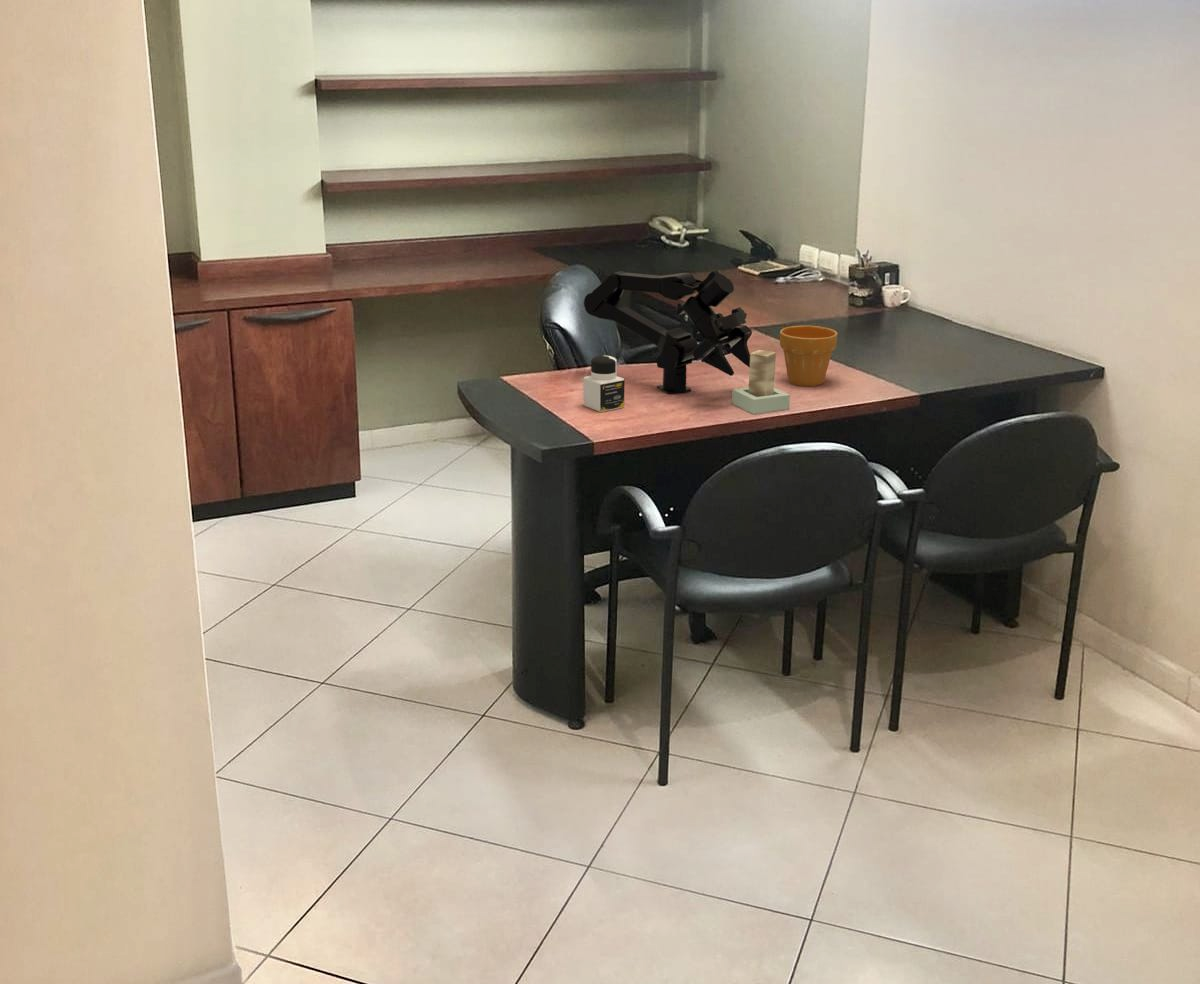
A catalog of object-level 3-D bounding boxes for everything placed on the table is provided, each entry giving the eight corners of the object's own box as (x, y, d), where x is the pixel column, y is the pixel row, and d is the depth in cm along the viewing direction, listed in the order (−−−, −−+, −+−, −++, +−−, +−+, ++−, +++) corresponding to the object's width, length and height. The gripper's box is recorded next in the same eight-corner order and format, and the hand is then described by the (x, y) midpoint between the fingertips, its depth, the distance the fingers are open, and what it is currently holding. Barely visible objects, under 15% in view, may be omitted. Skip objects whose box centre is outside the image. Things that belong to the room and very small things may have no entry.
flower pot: (791, 391, 303) (794, 339, 299) (768, 376, 316) (771, 327, 312) (843, 387, 307) (847, 336, 302) (819, 372, 320) (822, 323, 315)
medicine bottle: (600, 412, 286) (600, 362, 282) (582, 405, 291) (582, 356, 287) (624, 407, 290) (625, 358, 286) (607, 400, 295) (607, 352, 291)
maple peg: (747, 407, 290) (750, 353, 286) (756, 402, 294) (759, 349, 289) (764, 410, 288) (767, 356, 284) (773, 405, 291) (775, 352, 287)
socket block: (731, 403, 293) (732, 389, 292) (767, 398, 297) (767, 384, 296) (753, 414, 285) (754, 399, 284) (789, 409, 289) (789, 394, 288)
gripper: (705, 304, 281) (745, 359, 279) (745, 291, 295) (783, 343, 293) (675, 333, 288) (714, 386, 286) (715, 319, 302) (752, 369, 300)
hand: (742, 370), depth 291 cm, fingers open, 9 cm apart
